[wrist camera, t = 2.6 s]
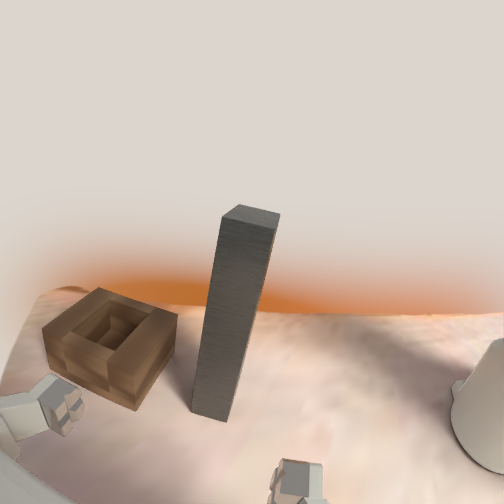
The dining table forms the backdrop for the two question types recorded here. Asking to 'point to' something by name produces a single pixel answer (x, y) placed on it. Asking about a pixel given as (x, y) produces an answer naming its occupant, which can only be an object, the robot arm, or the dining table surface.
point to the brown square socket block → (111, 345)
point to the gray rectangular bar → (232, 306)
